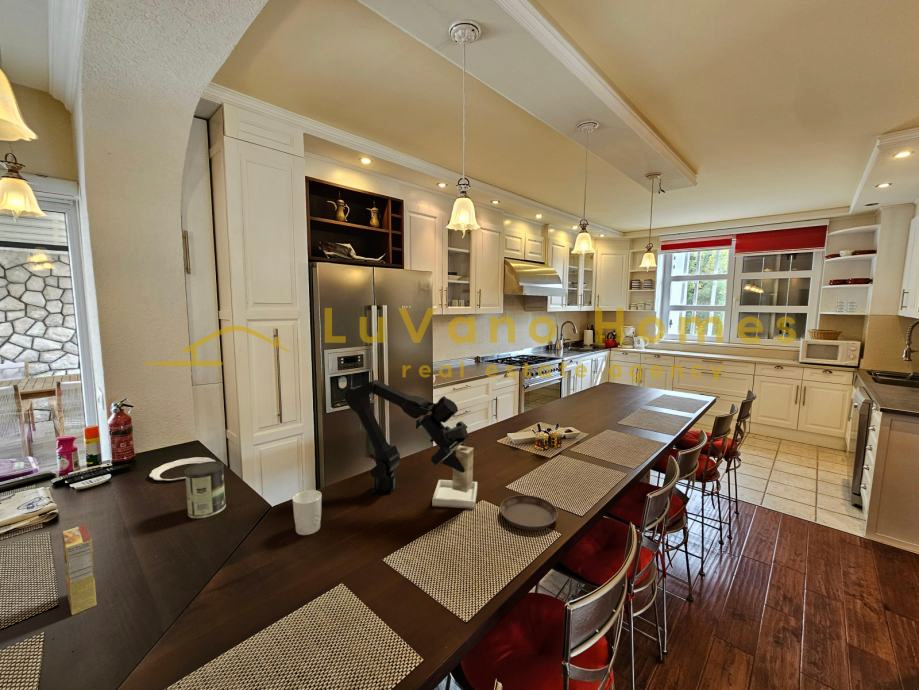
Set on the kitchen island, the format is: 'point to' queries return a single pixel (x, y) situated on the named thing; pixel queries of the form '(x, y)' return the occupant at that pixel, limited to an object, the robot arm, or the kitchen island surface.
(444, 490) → the tray
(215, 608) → the kitchen island surface
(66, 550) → the candy box
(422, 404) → the robot arm
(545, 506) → the plant saucer
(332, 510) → the kitchen island surface
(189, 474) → the coffee can
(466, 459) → the maple block
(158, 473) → the plate
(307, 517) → the white cup
